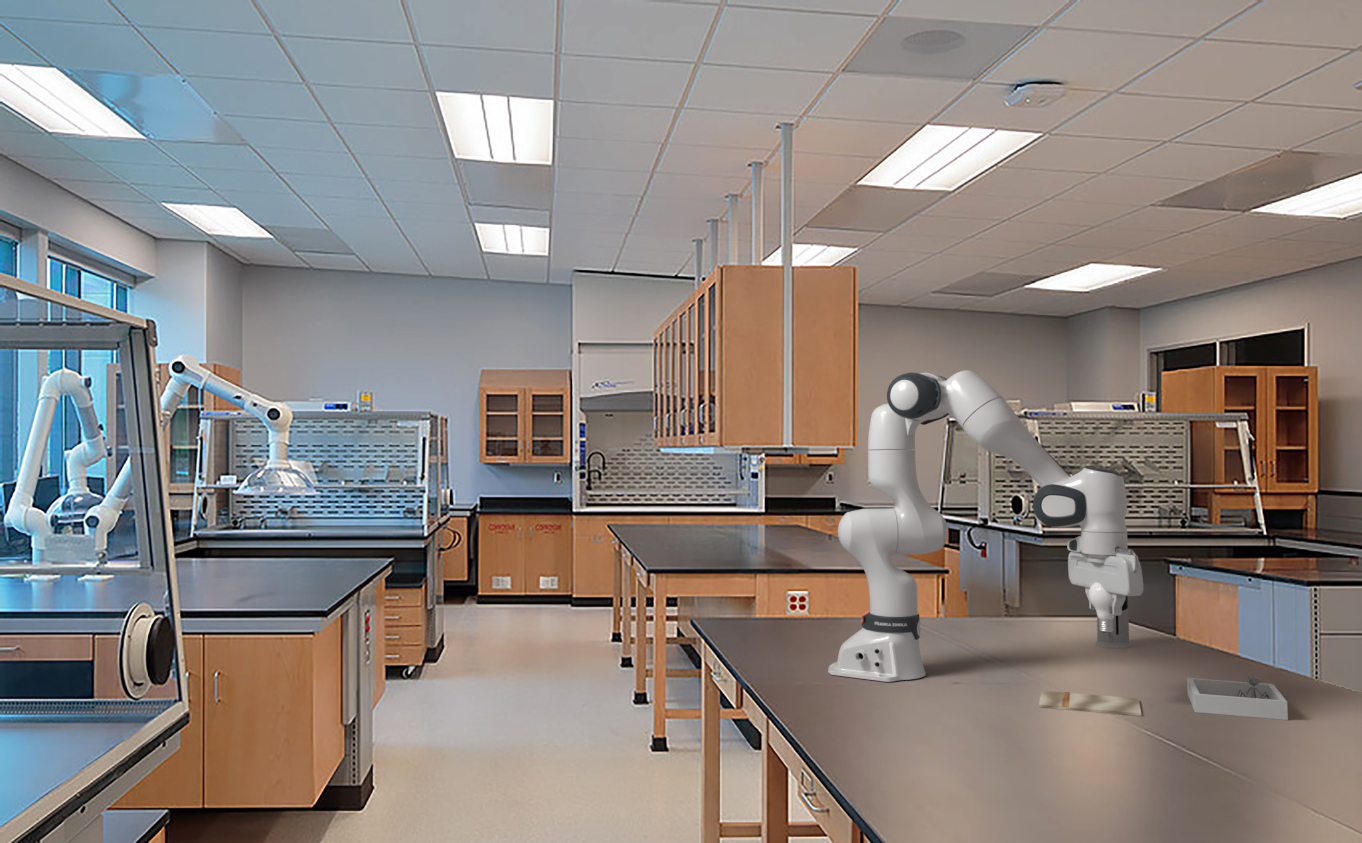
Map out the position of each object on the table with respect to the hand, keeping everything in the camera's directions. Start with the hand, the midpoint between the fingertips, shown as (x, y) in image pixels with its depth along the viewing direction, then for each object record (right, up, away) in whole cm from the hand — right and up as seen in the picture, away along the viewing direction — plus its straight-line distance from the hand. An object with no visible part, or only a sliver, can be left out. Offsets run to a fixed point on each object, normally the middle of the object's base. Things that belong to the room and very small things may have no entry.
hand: (1105, 612), depth 204 cm
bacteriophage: (+29, -19, -3) cm, 35 cm away
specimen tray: (+25, -19, -3) cm, 32 cm away
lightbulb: (0, -4, -1) cm, 4 cm away
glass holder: (+28, -21, +60) cm, 70 cm away
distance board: (-3, -19, 0) cm, 19 cm away
